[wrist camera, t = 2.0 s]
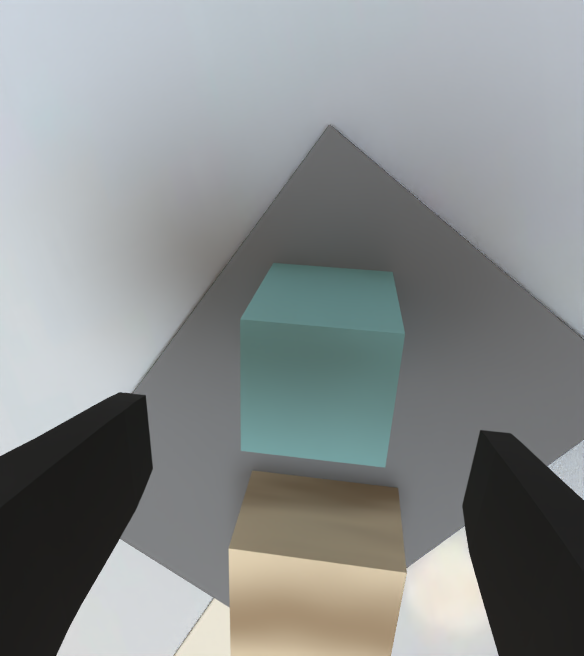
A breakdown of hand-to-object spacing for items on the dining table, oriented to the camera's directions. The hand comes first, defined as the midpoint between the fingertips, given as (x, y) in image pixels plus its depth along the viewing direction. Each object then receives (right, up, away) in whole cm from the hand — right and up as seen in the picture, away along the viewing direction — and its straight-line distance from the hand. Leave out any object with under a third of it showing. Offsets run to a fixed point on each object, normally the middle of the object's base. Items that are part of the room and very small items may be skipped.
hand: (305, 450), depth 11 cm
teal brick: (+1, +3, +7) cm, 7 cm away
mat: (0, -2, +9) cm, 10 cm away
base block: (+1, -6, +11) cm, 12 cm away
